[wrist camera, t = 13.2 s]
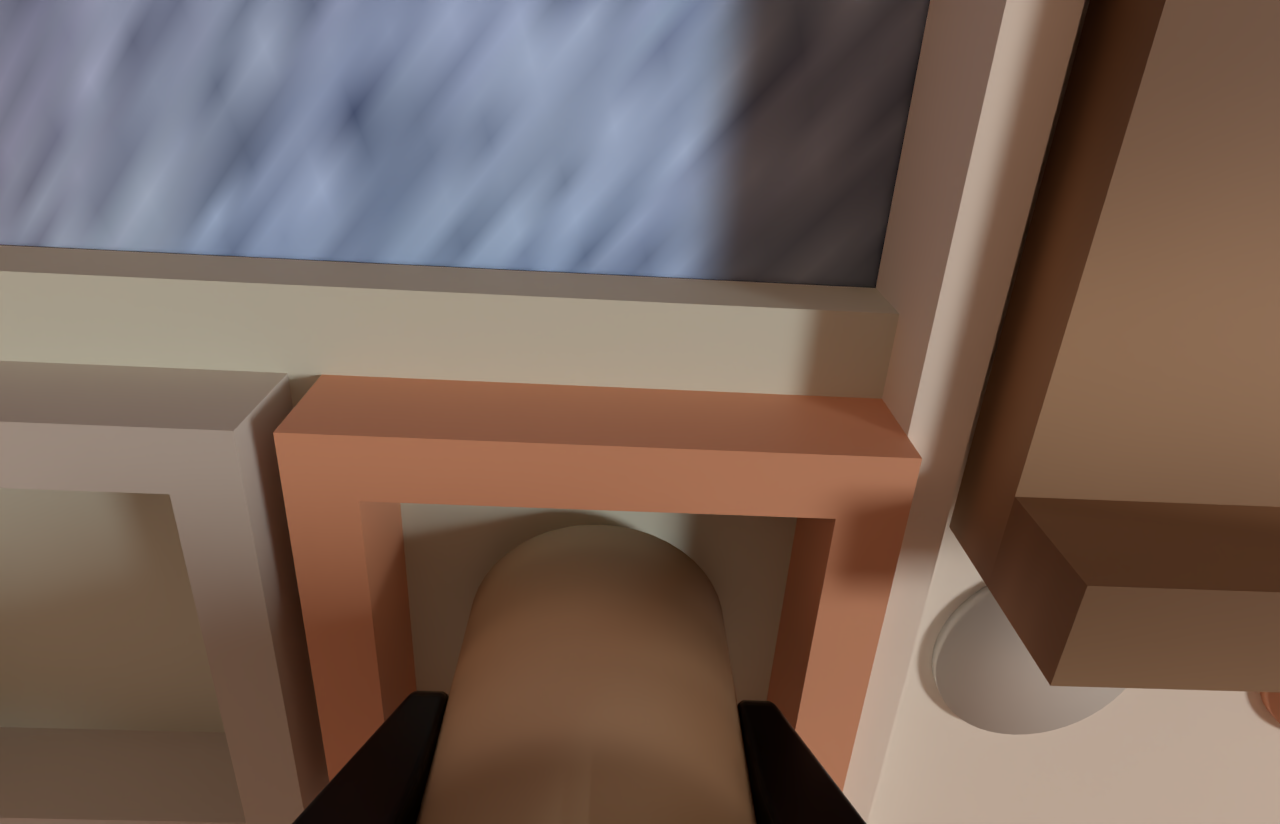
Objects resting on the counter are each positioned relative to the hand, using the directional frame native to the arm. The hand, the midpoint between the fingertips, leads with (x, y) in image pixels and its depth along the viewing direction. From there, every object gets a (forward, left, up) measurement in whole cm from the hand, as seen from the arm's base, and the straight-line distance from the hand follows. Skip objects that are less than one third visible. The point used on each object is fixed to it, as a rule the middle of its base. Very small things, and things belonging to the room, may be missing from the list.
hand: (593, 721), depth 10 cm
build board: (0, +4, -3) cm, 5 cm away
